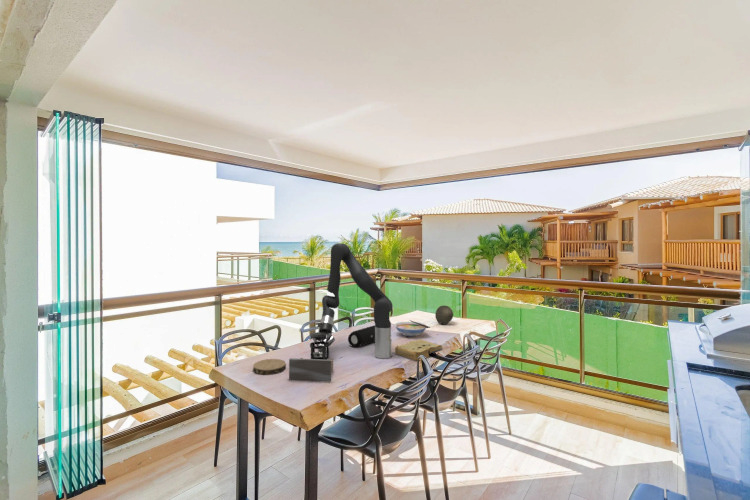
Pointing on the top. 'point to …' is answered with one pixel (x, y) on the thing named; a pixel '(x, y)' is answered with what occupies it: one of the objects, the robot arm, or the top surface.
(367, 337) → the portable speaker
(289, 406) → the top surface
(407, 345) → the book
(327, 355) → the french press
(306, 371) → the docking bay
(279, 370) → the wood slice
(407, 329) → the ramen bowl
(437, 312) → the dark grey ball
